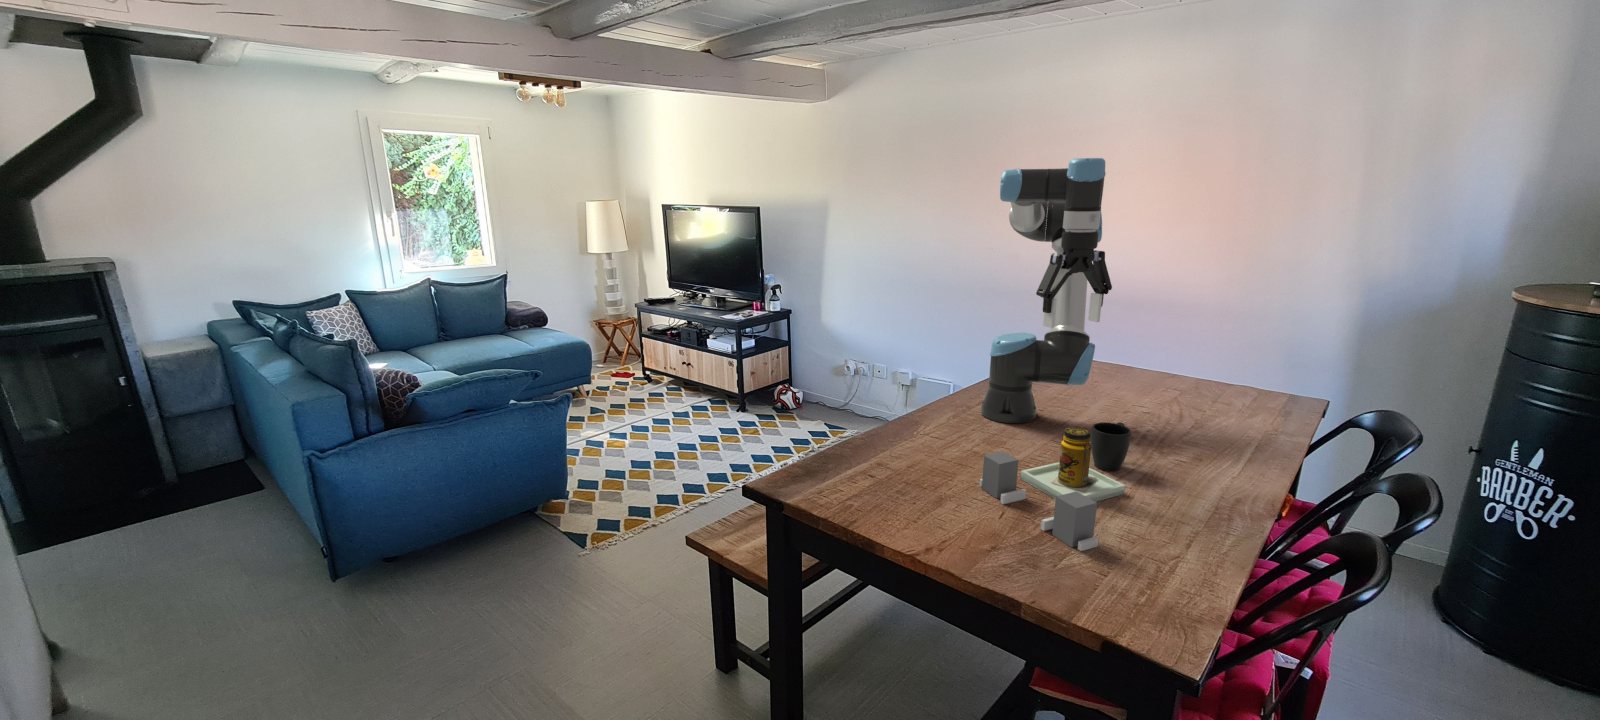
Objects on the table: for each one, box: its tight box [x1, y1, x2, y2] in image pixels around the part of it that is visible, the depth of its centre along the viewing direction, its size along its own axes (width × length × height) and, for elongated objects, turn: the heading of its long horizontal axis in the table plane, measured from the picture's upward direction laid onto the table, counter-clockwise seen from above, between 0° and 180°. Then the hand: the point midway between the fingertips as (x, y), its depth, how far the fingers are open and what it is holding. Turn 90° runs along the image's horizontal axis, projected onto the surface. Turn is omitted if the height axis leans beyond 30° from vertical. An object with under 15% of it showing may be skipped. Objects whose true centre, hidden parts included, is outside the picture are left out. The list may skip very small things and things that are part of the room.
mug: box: [1090, 421, 1132, 472], centre depth 154 cm, size 8×12×10 cm
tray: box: [1019, 461, 1126, 502], centre depth 144 cm, size 15×15×2 cm
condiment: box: [1051, 427, 1097, 492], centre depth 143 cm, size 7×8×12 cm
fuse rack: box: [978, 450, 1099, 552], centre depth 132 cm, size 29×6×8 cm, turn 23°
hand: (1071, 324), depth 152 cm, fingers open, 13 cm apart
